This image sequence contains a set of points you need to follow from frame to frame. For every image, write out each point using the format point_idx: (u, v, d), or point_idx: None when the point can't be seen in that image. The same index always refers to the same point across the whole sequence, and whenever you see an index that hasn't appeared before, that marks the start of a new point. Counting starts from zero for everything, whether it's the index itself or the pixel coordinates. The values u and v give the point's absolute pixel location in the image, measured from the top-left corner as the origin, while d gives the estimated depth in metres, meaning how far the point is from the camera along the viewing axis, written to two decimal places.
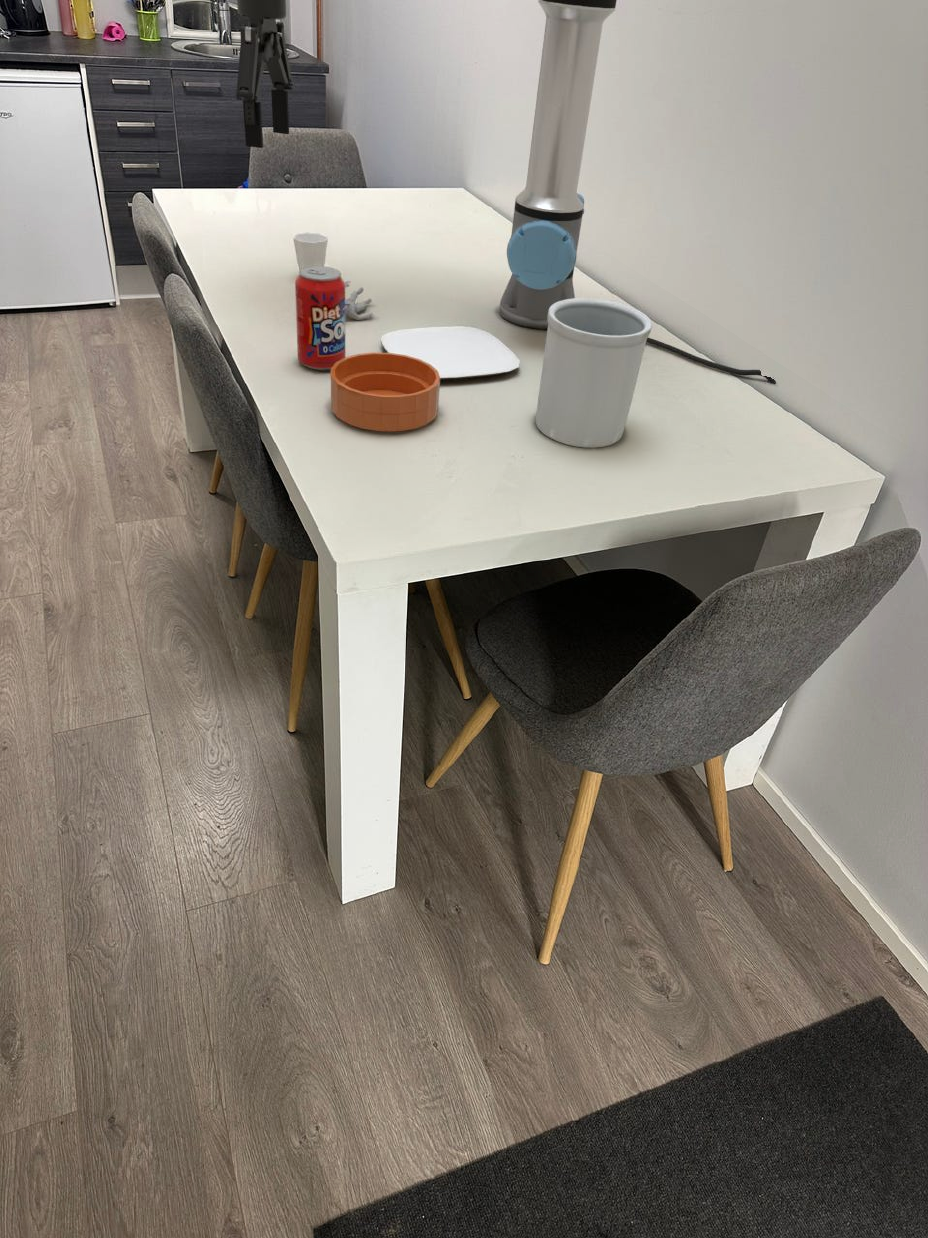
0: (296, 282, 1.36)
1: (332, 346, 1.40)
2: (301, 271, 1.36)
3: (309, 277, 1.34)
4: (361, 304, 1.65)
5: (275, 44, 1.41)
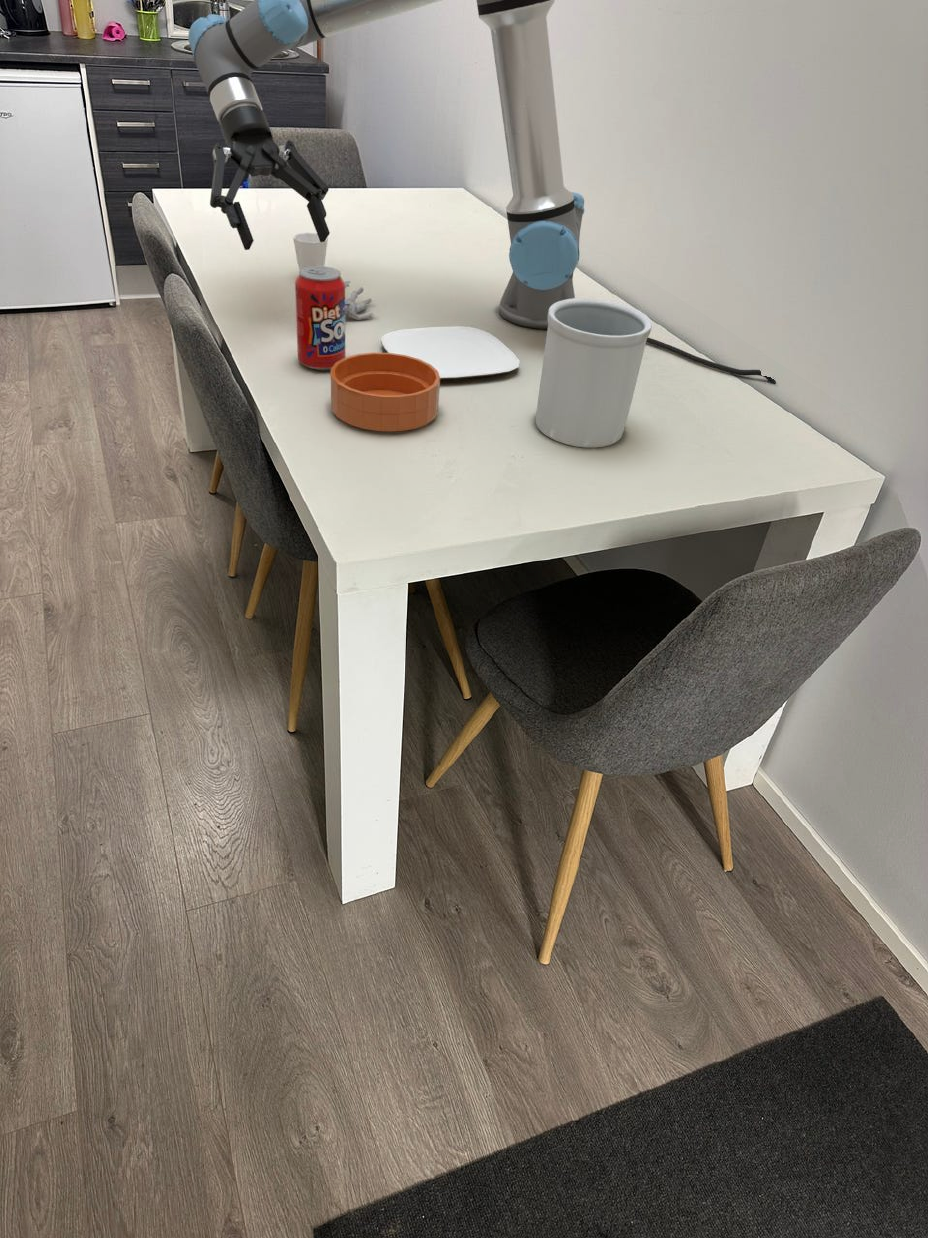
0: (296, 282, 1.36)
1: (332, 346, 1.40)
2: (301, 271, 1.36)
3: (309, 277, 1.34)
4: (361, 304, 1.65)
5: (268, 155, 1.40)
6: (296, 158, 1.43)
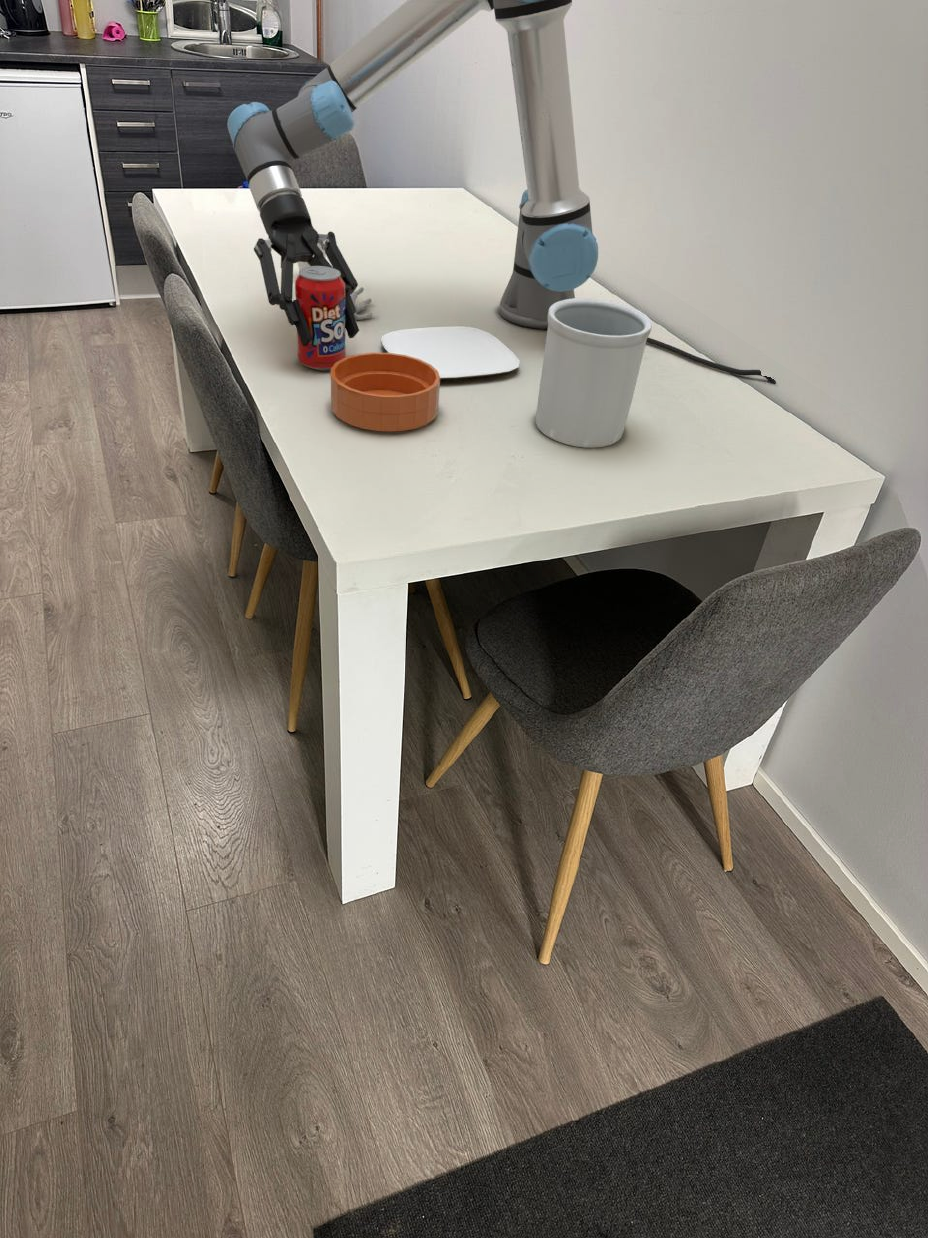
0: (296, 282, 1.36)
1: (332, 346, 1.40)
2: (301, 271, 1.36)
3: (309, 277, 1.34)
4: (361, 304, 1.65)
5: None
6: (333, 249, 1.41)
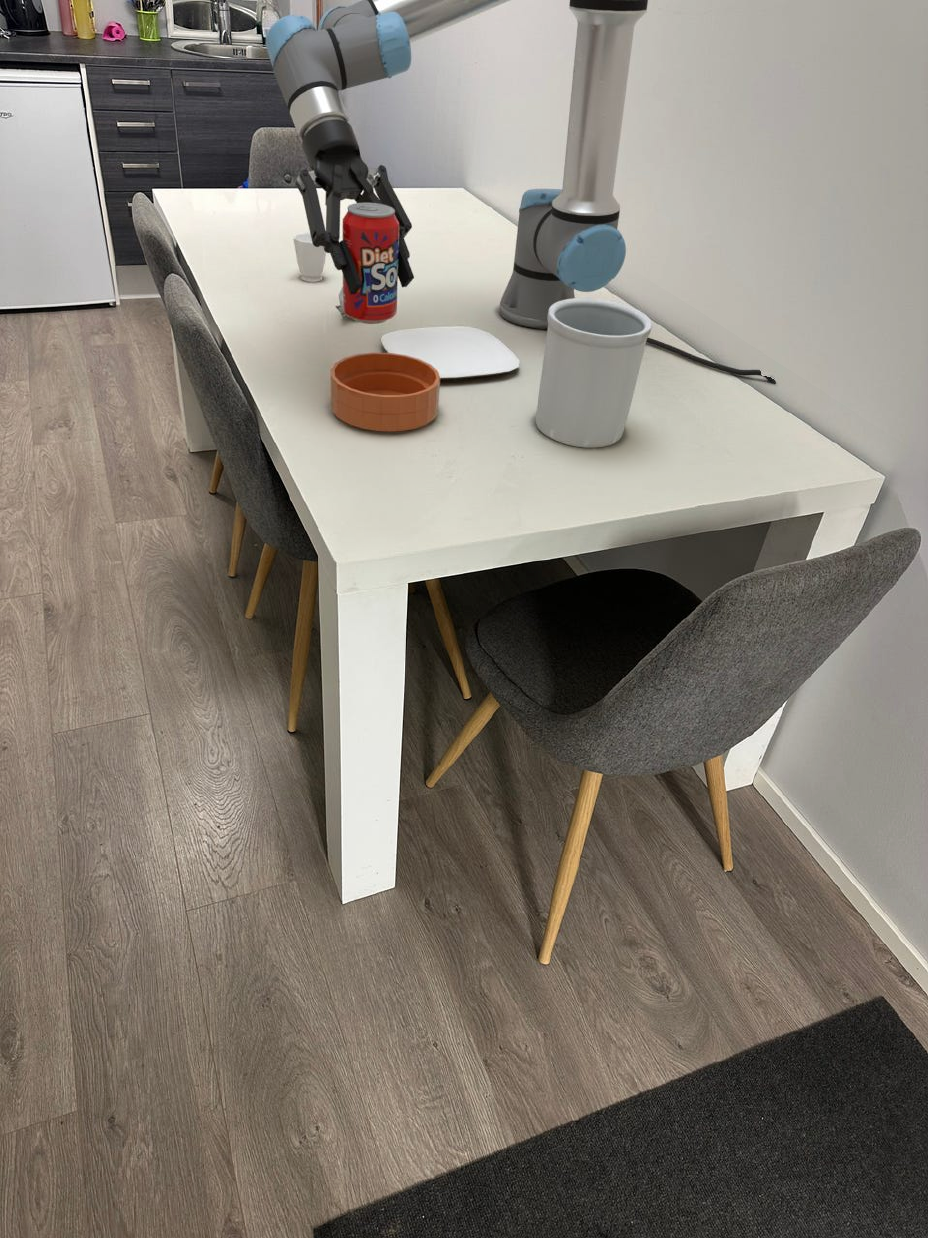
0: (344, 220, 1.19)
1: (384, 295, 1.23)
2: (350, 207, 1.18)
3: (359, 213, 1.17)
4: None
5: None
6: (384, 185, 1.24)
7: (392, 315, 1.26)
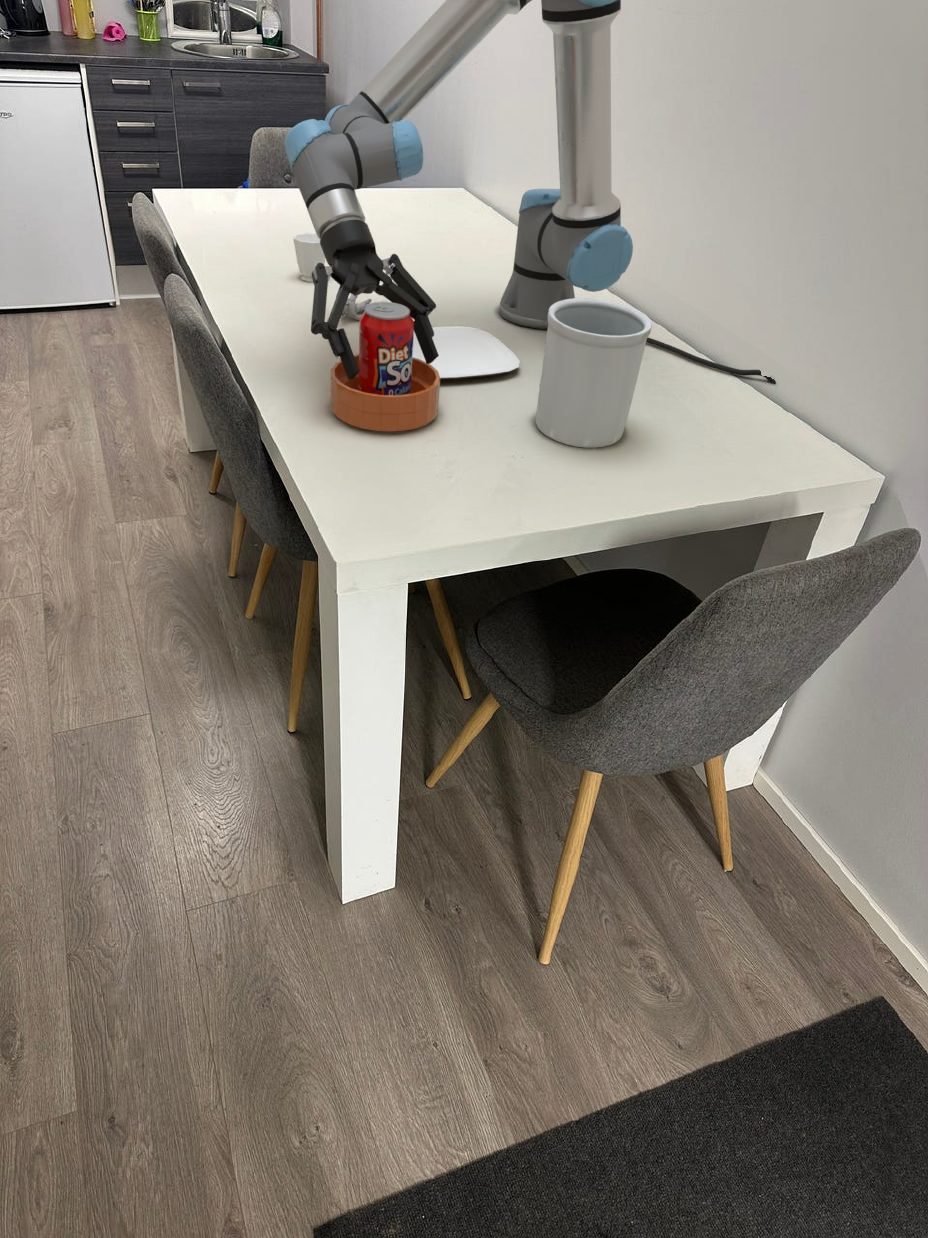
0: (361, 320, 1.23)
1: (398, 389, 1.28)
2: (366, 308, 1.23)
3: (376, 315, 1.22)
4: (361, 304, 1.65)
5: (373, 273, 1.26)
6: (401, 273, 1.29)
7: None
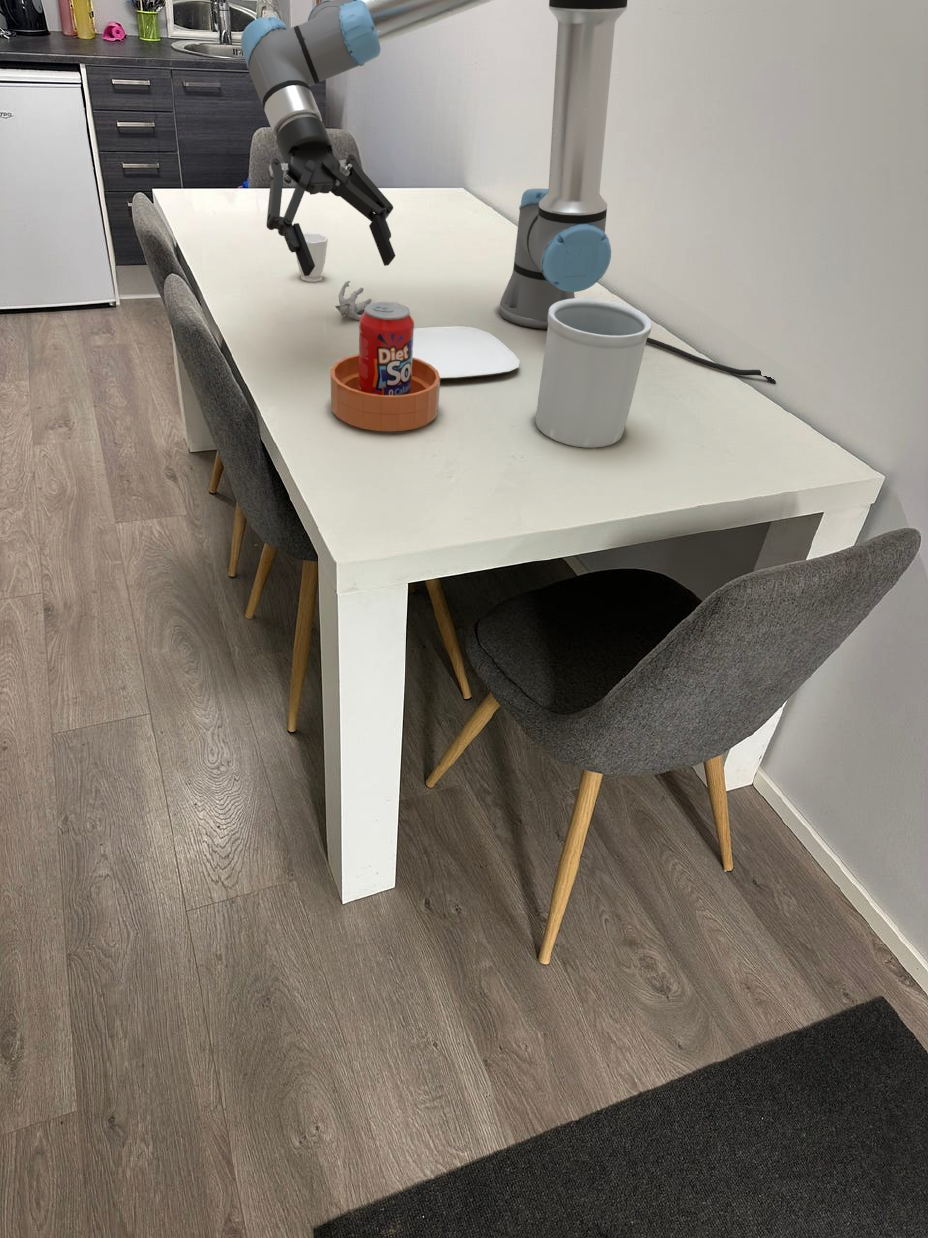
0: (361, 320, 1.23)
1: (398, 389, 1.28)
2: (366, 308, 1.23)
3: (376, 315, 1.22)
4: (361, 304, 1.65)
5: (329, 171, 1.27)
6: (358, 174, 1.30)
7: None
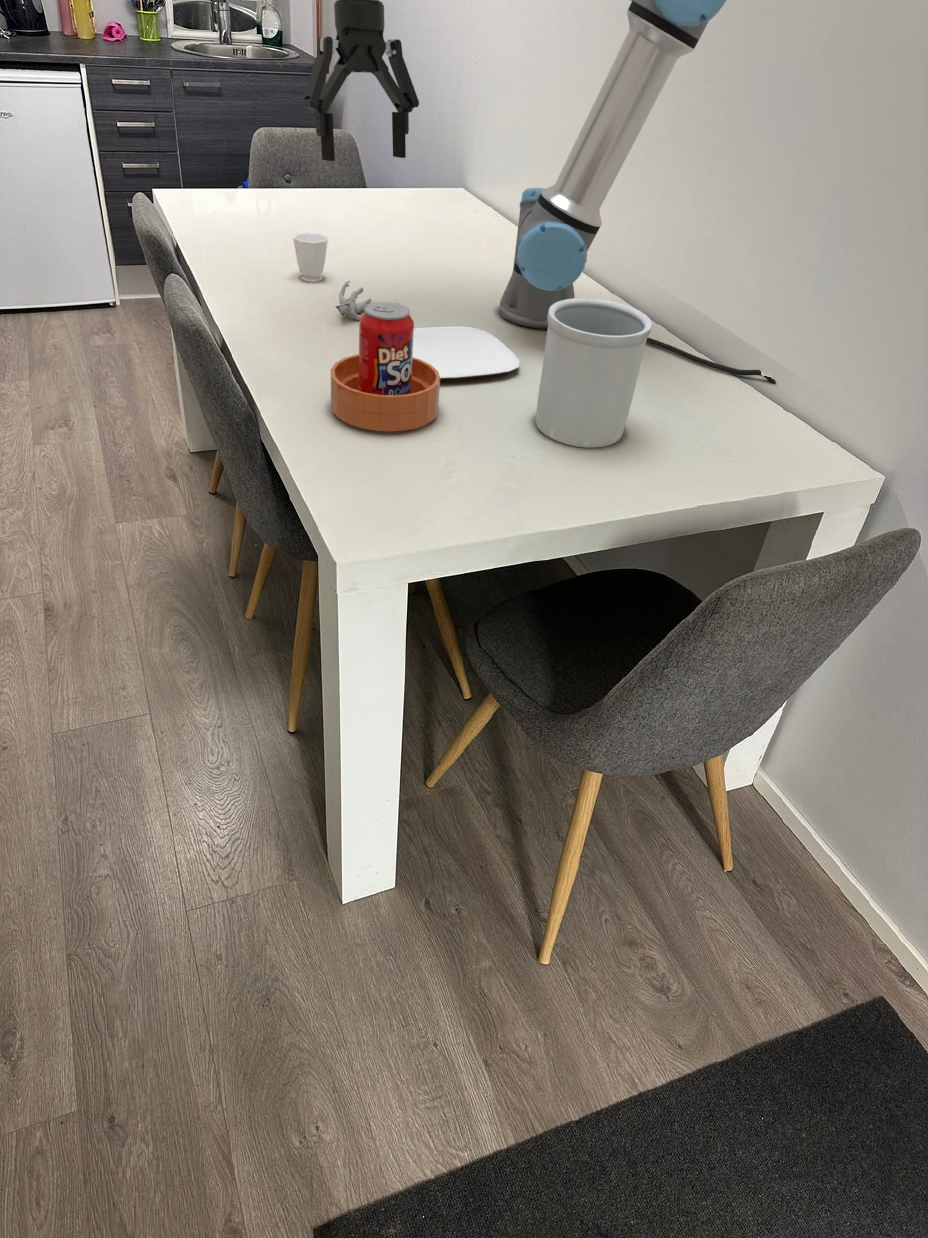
0: (361, 320, 1.23)
1: (398, 389, 1.28)
2: (366, 308, 1.23)
3: (376, 315, 1.22)
4: (361, 304, 1.65)
5: (373, 59, 1.34)
6: (399, 63, 1.37)
7: None
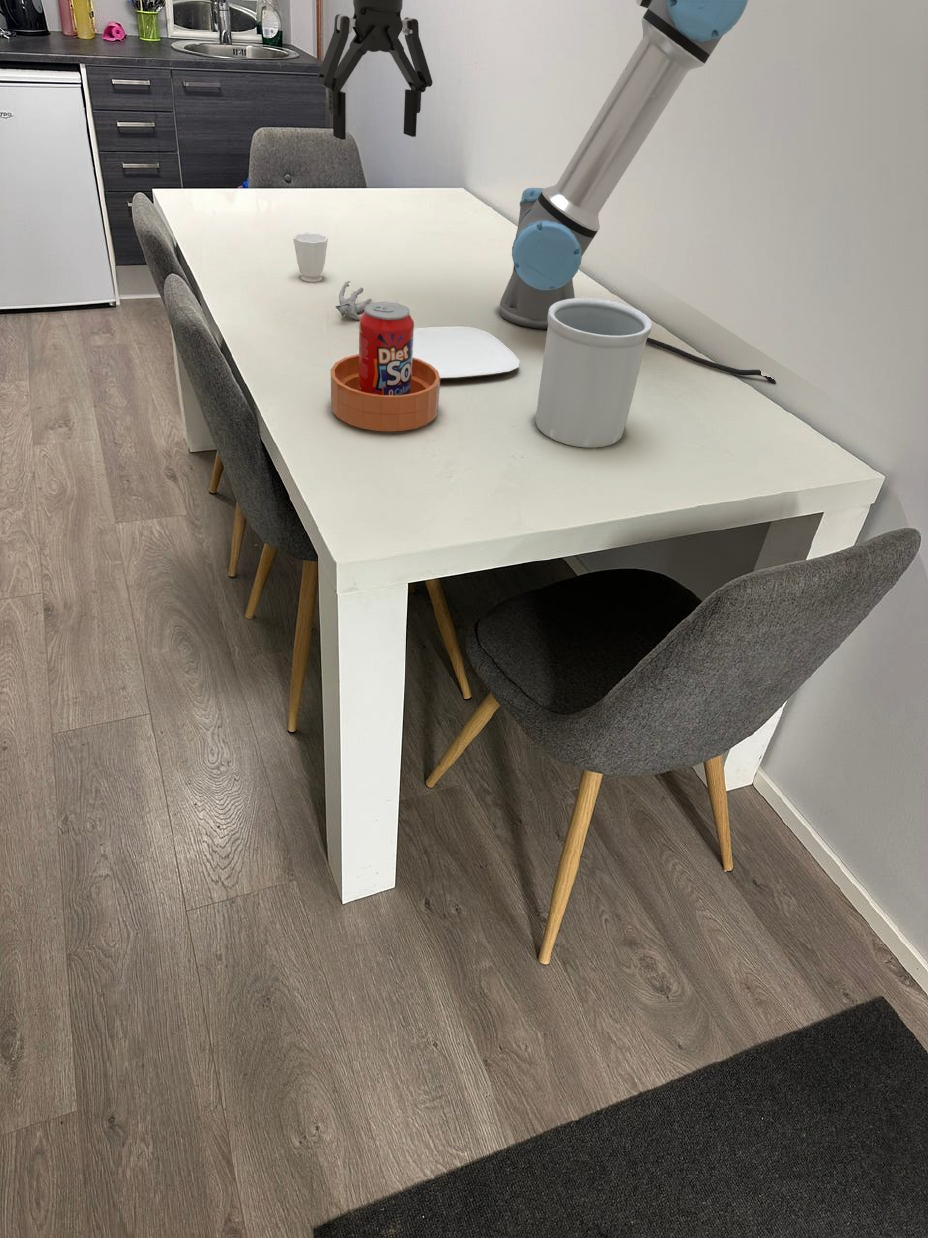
0: (361, 320, 1.23)
1: (398, 389, 1.28)
2: (366, 308, 1.23)
3: (376, 315, 1.22)
4: (361, 304, 1.65)
5: (389, 39, 1.35)
6: (414, 42, 1.38)
7: None
